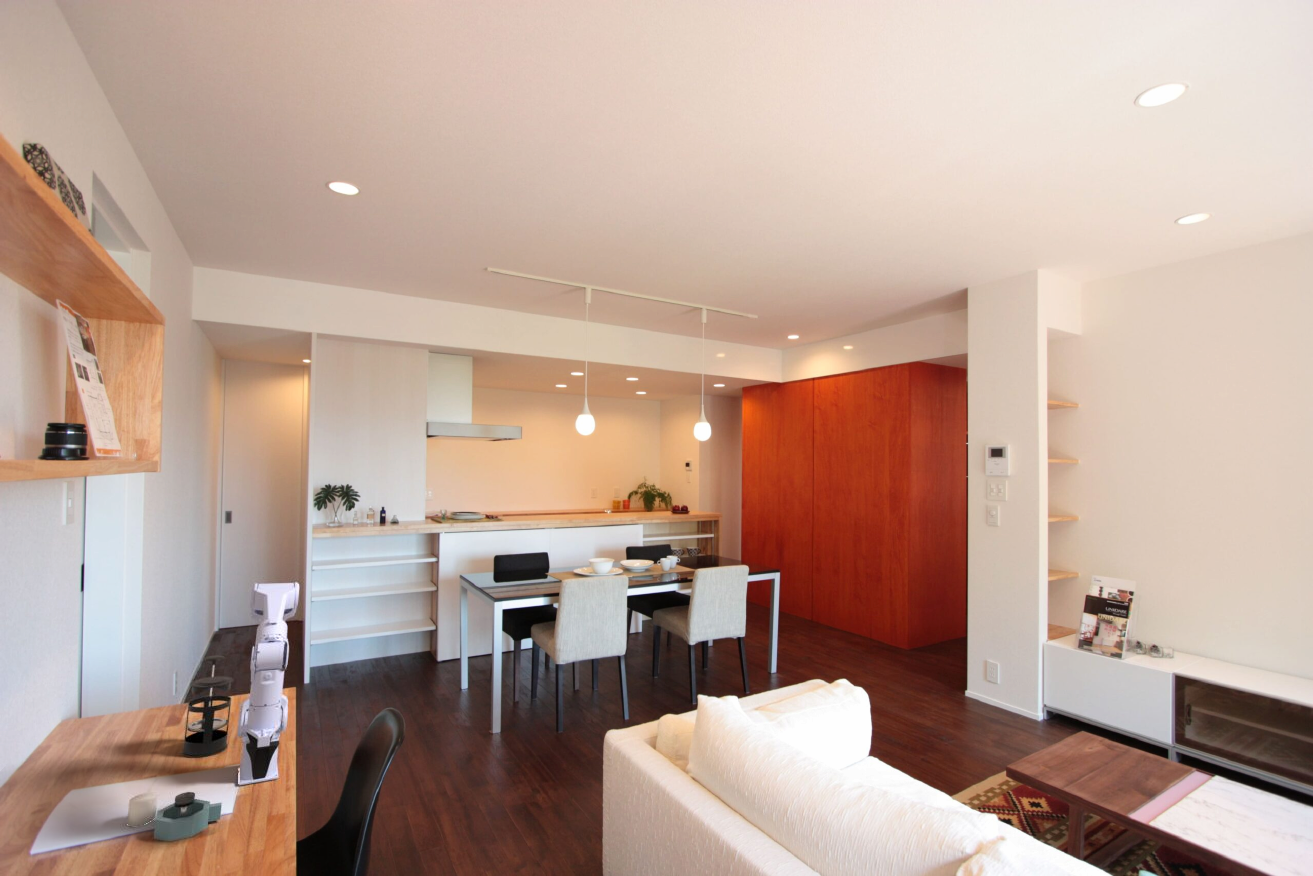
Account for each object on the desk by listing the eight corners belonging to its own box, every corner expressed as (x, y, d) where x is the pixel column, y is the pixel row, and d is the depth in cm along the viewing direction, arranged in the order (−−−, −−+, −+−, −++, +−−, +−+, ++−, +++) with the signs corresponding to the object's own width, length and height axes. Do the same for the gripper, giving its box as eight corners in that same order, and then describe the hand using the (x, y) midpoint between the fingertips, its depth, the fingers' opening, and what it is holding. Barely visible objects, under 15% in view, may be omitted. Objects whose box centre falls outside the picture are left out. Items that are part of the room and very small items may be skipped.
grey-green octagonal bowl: (157, 824, 126) (159, 805, 126) (220, 811, 131) (222, 794, 132) (151, 845, 119) (154, 825, 119) (219, 831, 124) (221, 812, 125)
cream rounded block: (128, 818, 127) (131, 795, 128) (156, 813, 130) (158, 791, 130) (125, 829, 124) (127, 805, 124) (153, 823, 126) (156, 800, 126)
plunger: (167, 824, 125) (170, 793, 126) (198, 818, 128) (201, 787, 128) (164, 836, 121) (167, 804, 122) (196, 830, 124) (199, 798, 124)
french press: (228, 753, 158) (238, 659, 160) (182, 762, 152) (192, 664, 154) (225, 737, 167) (234, 648, 169) (181, 745, 162) (191, 652, 164)
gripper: (242, 694, 134) (235, 760, 133) (242, 716, 122) (234, 790, 121) (280, 689, 138) (274, 754, 137) (284, 711, 126) (277, 782, 125)
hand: (258, 770), depth 129 cm, fingers open, 7 cm apart
